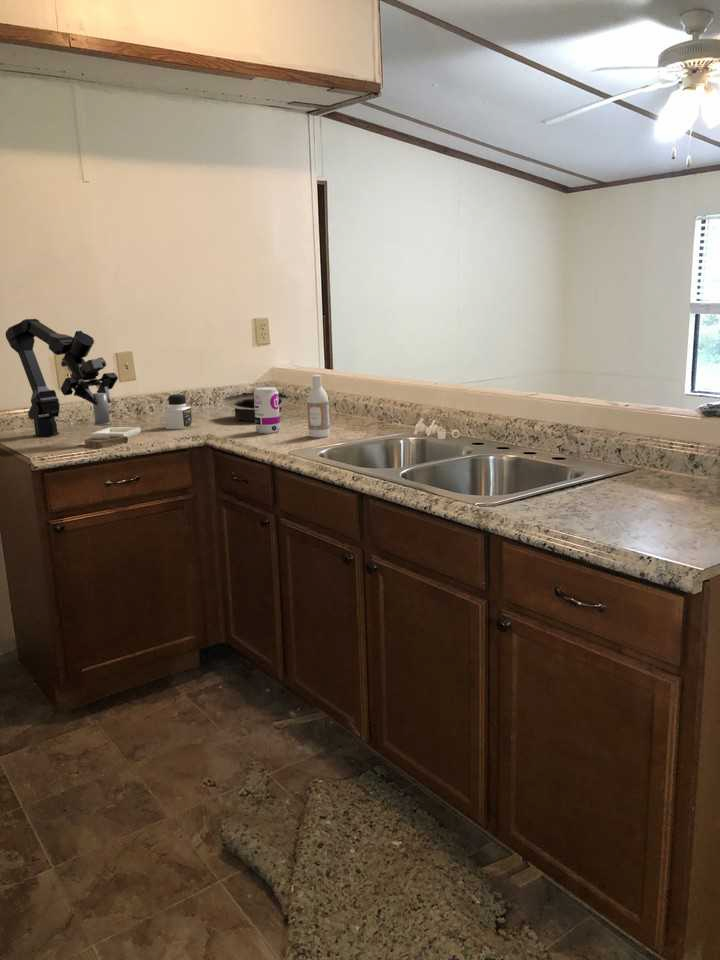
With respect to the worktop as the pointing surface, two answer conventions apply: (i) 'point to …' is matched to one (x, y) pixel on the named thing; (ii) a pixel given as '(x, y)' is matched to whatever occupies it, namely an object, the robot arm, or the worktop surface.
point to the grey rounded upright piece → (101, 410)
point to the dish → (115, 432)
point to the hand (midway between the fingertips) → (103, 402)
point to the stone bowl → (249, 405)
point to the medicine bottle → (178, 413)
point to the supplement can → (266, 410)
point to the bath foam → (318, 410)
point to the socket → (107, 441)
